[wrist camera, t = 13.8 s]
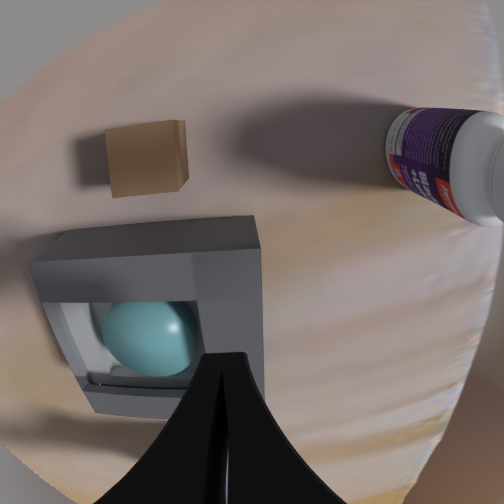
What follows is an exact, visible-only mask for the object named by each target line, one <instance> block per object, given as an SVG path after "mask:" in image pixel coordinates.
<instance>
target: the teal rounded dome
mask: <svg viewBox="0 0 504 504" xmlns="http://www.w3.org/2000/svg"><path fill="white" fill-rule="evenodd" d="M197 332H198V325H197V320H196V317H195V315H194V313H193V311H192V310H191V308H190V307H189V306H188V305H187V303H186V302H185V301H167V302H126V303H113V305H112V307H111V309H110V310H109V312H108V314H107V316H106V318H105V320H104V322H103V327H102V335H103V339H104V342H105V345H106V346H107V348H108V350H109V351H110V353H111V354H112V355H113V356H114V358H115V359H117V360H118V361H119V362H120V363H121V364H123V365H124V366H126V367H127V368H129V369H131V370H133V371H135V372H138V373H140V374H144V375H148V376H158V377H161V376H169V375H173V374H176V373H179V372H181V371H182V370H184V369H185V368H186V367H187V366H188V365H189V364H190V363H191V361H192V359H193V357H194V353H195V346H196V339H197Z"/></svg>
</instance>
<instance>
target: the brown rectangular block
mask: <svg viewBox="0 0 504 504" xmlns="http://www.w3.org/2000/svg"><path fill="white" fill-rule="evenodd" d="M105 141H106V151H107V160H108V169H109V176H110V184H111V191H112V198H118V197H127V196H136V195H145V194H155V193H166V192H177V191H179V190H180V188H181V187H182V186H183V185H184V183H185V182H186V181H187V180H188V178H189V172H188V160H187V146H186V132H185V121H181V120H168V121H160V122H153V123H146V124H139V125H133V126H127V127H121V128H116V129H110V130H105Z"/></svg>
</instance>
